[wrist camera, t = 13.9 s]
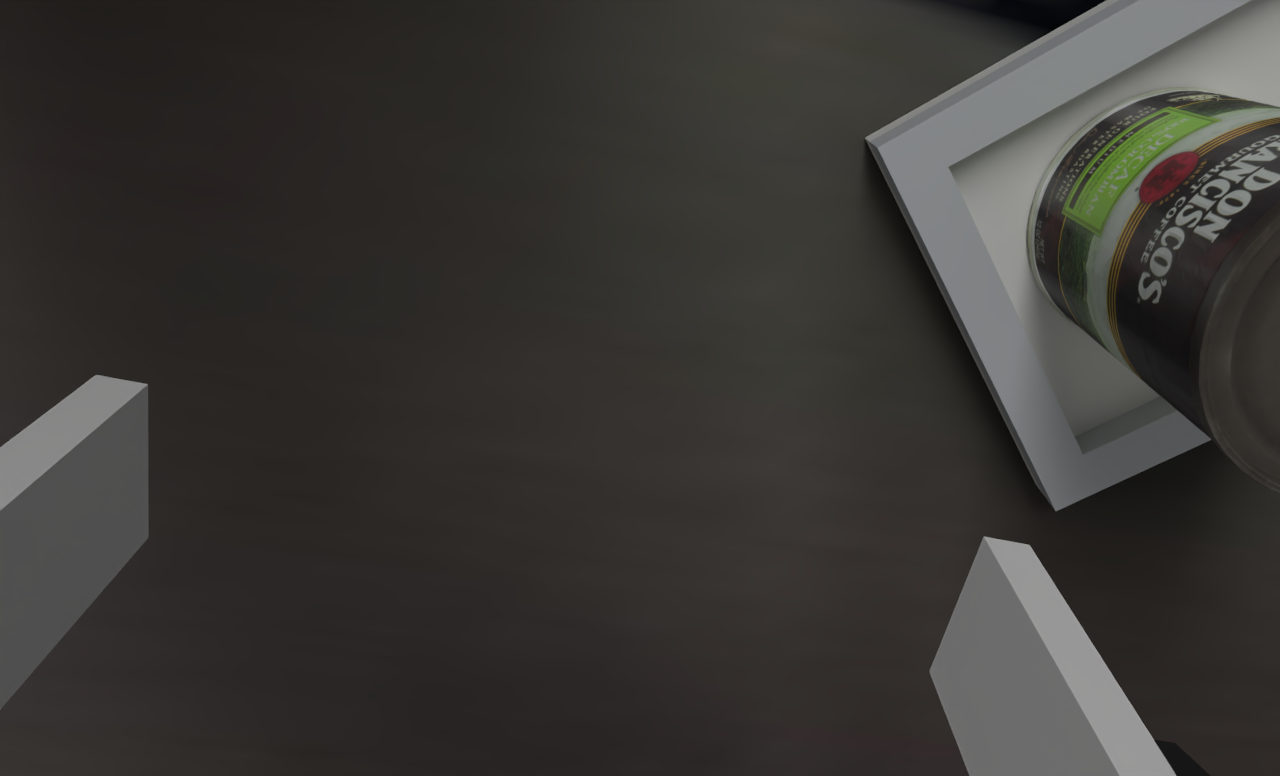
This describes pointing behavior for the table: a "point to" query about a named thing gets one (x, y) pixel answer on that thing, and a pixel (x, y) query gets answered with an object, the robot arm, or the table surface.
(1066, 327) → the plate
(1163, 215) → the coffee can
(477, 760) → the table surface
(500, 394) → the table surface
